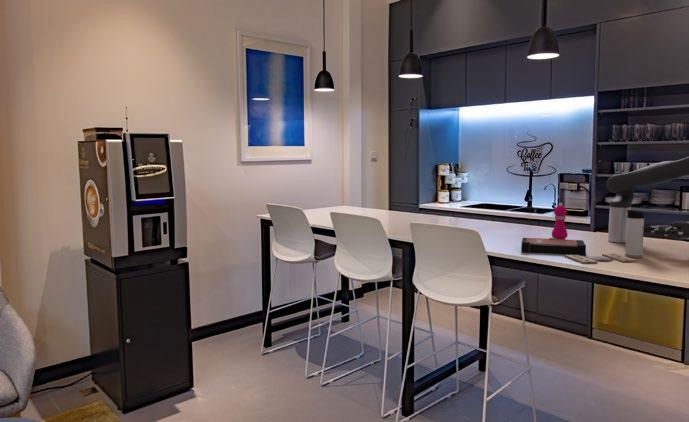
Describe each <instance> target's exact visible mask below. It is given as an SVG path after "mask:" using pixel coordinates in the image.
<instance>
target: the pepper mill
mask: <svg viewBox="0 0 689 422" xmlns="http://www.w3.org/2000/svg"><path fill="white" fill-rule="evenodd" d="M553 213H554V220H555V224H554V227H553V229H552V231H551V238H556V239H565V240H566V239H567V237H568V231H567V228H566V226H565V221H566V218H567V216H566V215H567V213H568V209H567V208H566V207H565V206H564V205H563V202H559V203H558V205H557V206H555V207H554V209H553Z"/></svg>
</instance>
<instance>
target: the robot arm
mask: <svg viewBox="0 0 689 422" xmlns="http://www.w3.org/2000/svg"><path fill="white" fill-rule="evenodd" d="M686 176H689V156H687V157H684V158H681V159H678V160H665V161H661V162H656V163H653V164H649V165H647V166H644V167H642V168H638V169H635V170H633V171H630V172H625V173H619V174H613V175H612V176H610V177H609V178H608V179H607V181H606V185H605V186H606V189H607V190H608V191H609V192H611V193H614V194H615V197H614V198H613V199H611V200H610V201H609V216H608V218H609V219H608V236H607V241H608V242H610V243H611V242H612V243H620V244H623V243H625V244H626V231H627V216H628V215H627V214H628V212H627V210H632V203H633V202H634V195H635V188H636V187H646V186H654V185H660V184H664V183H667V182H671V181H674V180H678V179H679V178H684V177H686ZM643 233H653V235H654V236H665V237H672V239H674V240H689V221H674V222H672V223H671V225H668V224H667V225H652V224H651V225H650V224H649V226H644V230H643Z"/></svg>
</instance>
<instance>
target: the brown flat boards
mask: <svg viewBox="0 0 689 422" xmlns="http://www.w3.org/2000/svg"><path fill="white" fill-rule="evenodd" d="M564 257H565V258H566V257H567V258H566V259H569V260H571V259H572V260H571V261H574V260H575V261H574V262H577V263H579V262H580V264H582V265H584V264H585V265H588V264H589V265H591V264H592V265H593V264H598V262H600V263H602V262H603V263H606V262H607V263H611V262H613V261H618V262H620V263H637V262H638V260H637V259H636V258H630V257H626V256H625V255H621V254H618V253H602V254H601V256H596V255H595V256H588V257H586V256H580V255H564Z"/></svg>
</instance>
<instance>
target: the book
mask: <svg viewBox="0 0 689 422" xmlns="http://www.w3.org/2000/svg"><path fill="white" fill-rule="evenodd" d="M520 248H521V251H520V252H521V253H523V254H524V253H525V254H545V255H563V256H565V255H580V256H583V257H586V256H587V255H586V254H587V253H586V252H587V245H586V243H585V241H584V240H583V239H566V238H565V239H556V238H553V237H549V238H540V237H539V238H537V237H522V240H521V247H520Z"/></svg>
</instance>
